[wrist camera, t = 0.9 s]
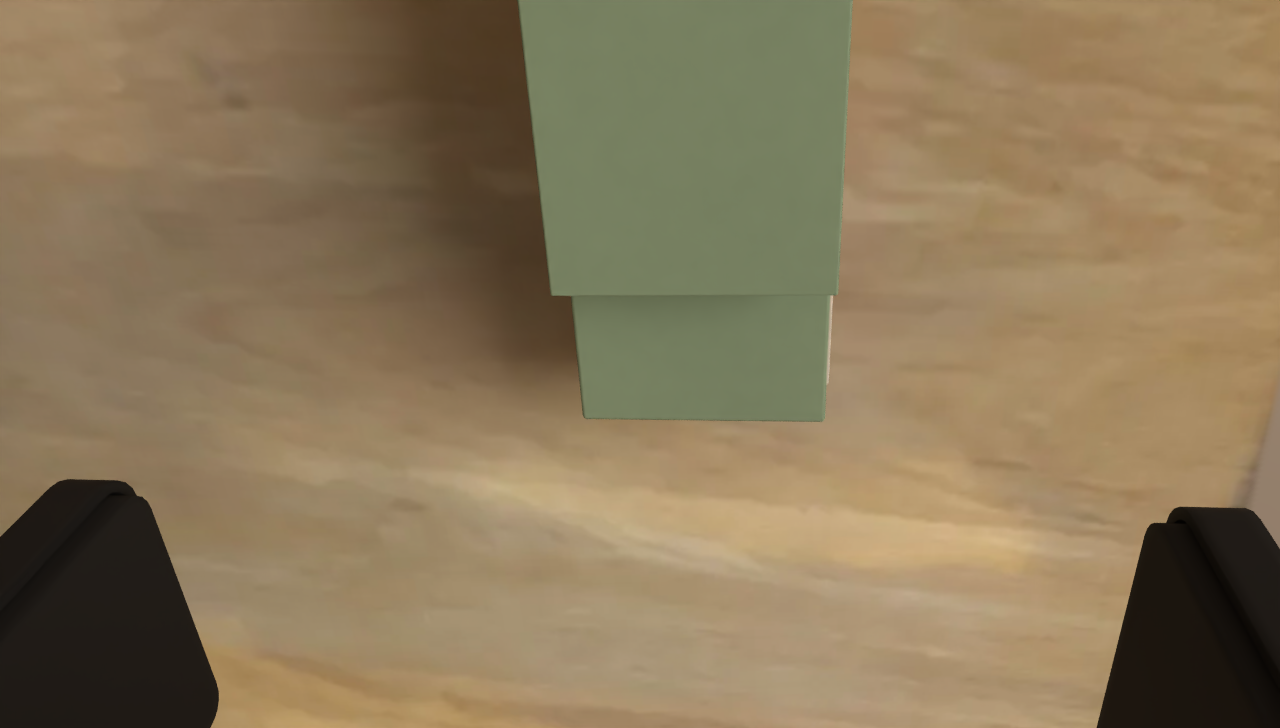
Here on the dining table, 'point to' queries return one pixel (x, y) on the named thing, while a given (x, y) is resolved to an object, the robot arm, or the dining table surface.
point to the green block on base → (693, 198)
